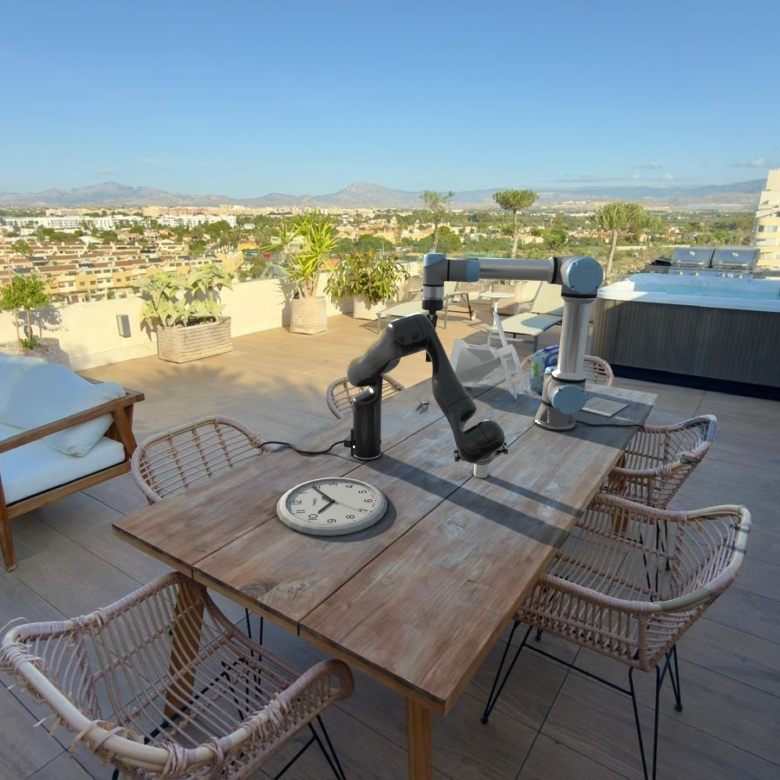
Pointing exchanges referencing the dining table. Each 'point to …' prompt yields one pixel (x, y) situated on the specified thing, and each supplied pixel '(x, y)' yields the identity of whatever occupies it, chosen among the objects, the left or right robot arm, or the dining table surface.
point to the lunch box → (542, 366)
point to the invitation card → (603, 406)
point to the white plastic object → (485, 360)
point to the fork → (422, 403)
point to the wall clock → (331, 506)
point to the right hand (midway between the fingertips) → (430, 357)
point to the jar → (481, 470)
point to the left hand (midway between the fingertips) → (480, 454)
